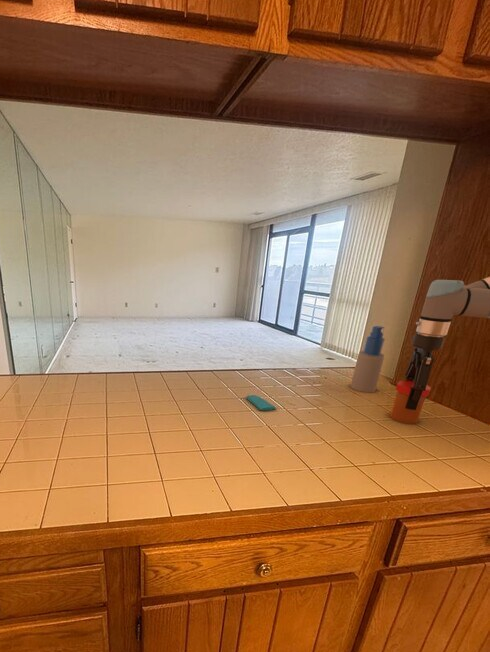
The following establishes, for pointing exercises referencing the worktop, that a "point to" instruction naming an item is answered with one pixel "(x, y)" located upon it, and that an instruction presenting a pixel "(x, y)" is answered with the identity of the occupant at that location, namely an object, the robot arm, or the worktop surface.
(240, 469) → the worktop surface
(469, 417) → the worktop surface
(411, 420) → the jar
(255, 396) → the sponge
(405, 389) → the lid
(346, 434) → the worktop surface
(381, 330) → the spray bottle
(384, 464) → the worktop surface
